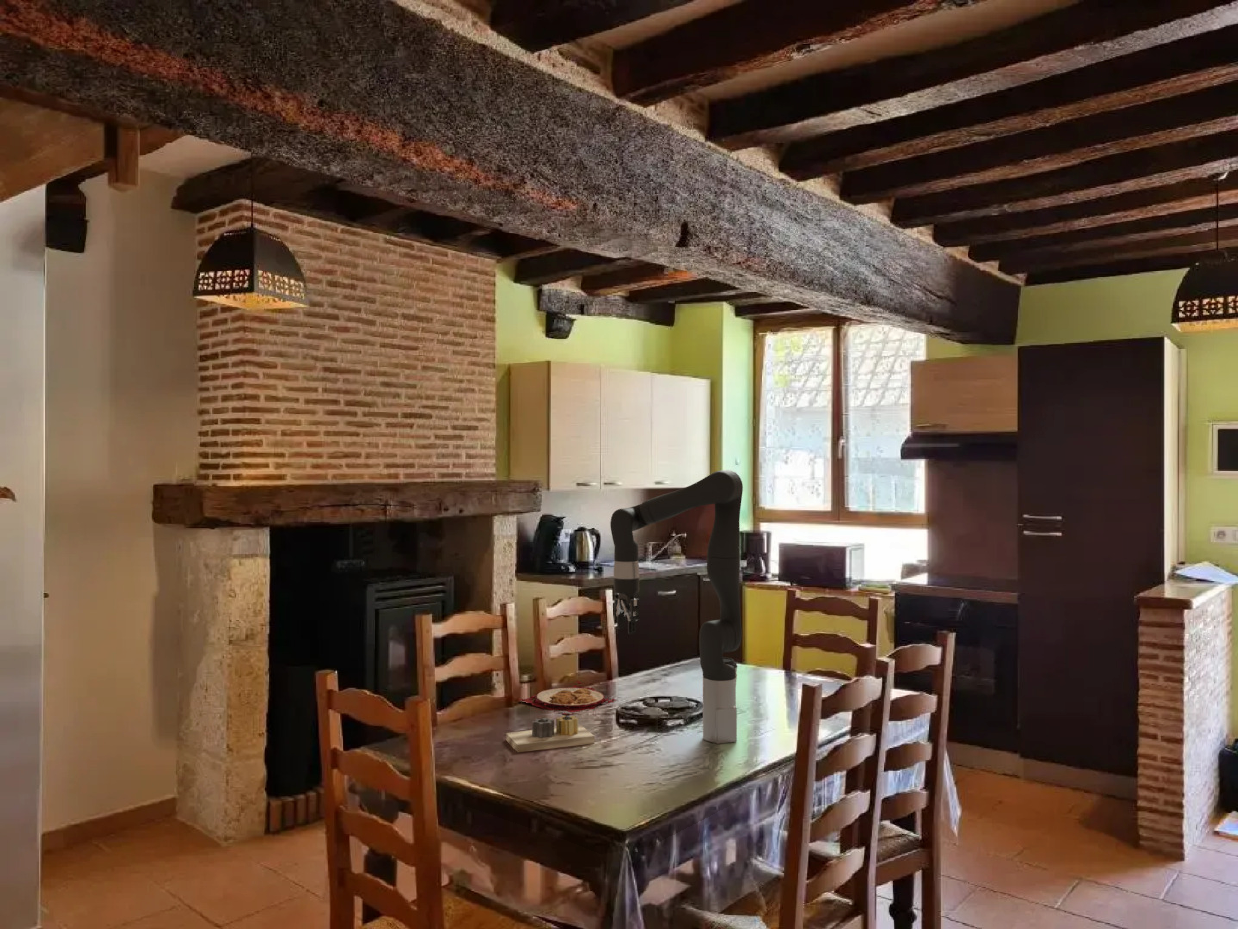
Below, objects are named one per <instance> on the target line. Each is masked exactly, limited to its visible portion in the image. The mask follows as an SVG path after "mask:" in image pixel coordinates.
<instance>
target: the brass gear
mask: <svg viewBox="0 0 1238 929" xmlns="http://www.w3.org/2000/svg"><path fill="white" fill-rule="evenodd" d="M565 716H566V715H562V716H560V717H556V718H555V719H556V724H555V725H556V726H555V728H556V733H559V735H569V736H572V734H574V733H576V734H578V725H579V718H578V717H576V716H575V715H569V716H570V720H565Z"/></svg>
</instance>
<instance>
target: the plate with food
mask: <svg viewBox="0 0 1238 929" xmlns="http://www.w3.org/2000/svg"><path fill="white" fill-rule="evenodd" d="M576 682H577V684H575V685H573V686H567V687H566V686H565V687H557V688H548V689H544V690H541V691H539V692H538V693H536V694H535V695H531V696H530V697H527V698H519V701H521V702H525V703H527V704H530V705H531V706H535V707H538V708H541V709H542V710H543V709H547V710H548V711H553V712H554V713H556V711H566V712H568V713H565V712H563V713H562V714H563V715H565V716H568V715H569V716H573V715H575V713H577V712H582V711H584V710H585V711H586V710H594V709H595V708H596V709H597V708H599V707H597V706H599V705H603V703H604V702H605V705H608V706H609V705H610V703H615V702H616V701H617V699H615V698H611V699H609V697H608V698H607V697H606V696H605V695H604V693H602V692H600V691H597V690H596V689H595V688H593V686H592V687H589V686H588V687H587V686H586V687H585V686H579V685H582V683H583V682H580V681H579V680H576ZM578 684H579V685H578ZM577 685H578V686H577ZM605 697H606V698H605ZM533 700H534V701H533ZM606 702H607V703H606Z"/></svg>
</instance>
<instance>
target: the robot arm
mask: <svg viewBox="0 0 1238 929" xmlns="http://www.w3.org/2000/svg"><path fill="white" fill-rule="evenodd" d="M743 488H744V487H743V481H742V478H741V476H740V475H739V474H738V473H737V472H736V471H733V470H729V469H726V470H725V469H724V470H723V469H722V470H717V471H713V472H712V473H711V474H708V475H707V476H705V477H704V478H702V479H700V480H698V481H696V482H695V483H692V484H691V485H689V486H686V487H683V488H680V489H677V490H675V491H670V492H667V493H664V494H661V495H658V496H656V497H653V498H649V499H647V500H645V501H643V502H642V503H640V504H638V505H634V506H630V507H625V508H619V509H616V510H615V511H614V512H613V513H612V515H611V516H610V522H609V523H610V524H609V525H610V526H609V527H610V532H611V536H612V541H613V546H614V550H613V551H614V559H613V560H614V563H613V593H614V596H613V597H614V598H613V613H614V614H615V615H616V617H617V621H616V622H617V625H616V628H617V629H618V630H625V629H626V617H627V633H628V635H636V634H637V621H639V620H640V616H641V614H640V599H639V598H635V594H637V593H639V592H640V565H639V545H638V542H637V541H635V540H634V535H633V534H634V533H633V532H634V531H638V530H640V529H642V528H643V529H644V528H645V527H647V526H649V525H651V524H656V523H660V522H662V521H667V520H668V519H671V518H673V517H676V516H678V515H680V514H682V513H684V512H686V511H689V510H691V509H696V508H698V507H703V506H708V505H714V520H713V526H712V529H711V533H710V537H709V540H708V543H707V544H708V545H707V549H706V550H707V552H706V553H707V554H706V573H707V576H708V579H709V581H710V583H711V585H712V587H713V588H712V589H714V592H715V593H716V595H717V597H718V599H719V600H718V601H719V607H720V608H719V610H720V613H719V614H720V615H719V616H720V617H719V619H715V620H714V619H713V620H708V621H705V622H704V623H702V625H701V627H700V629H699V634H698V644H699V645H698V646H699V647H698V648H699V661H700V667H701V672H702V739H703V740H704V741H707V742H710V743H713V744H717V745H720V744H726V743H735V742H738V741H737V740H738V738H737V730H738V728H737V726H738V724H737V723H738V722H737V720H738V719H737V718H738V716H737V712H738V711H737V701H736V700H737V696H736V694H737V692H736V691H737V690H736V689H737V679H736V674H737V672H736V670H735V668H734V667H733V666H731V665H728V664H725V663H724V661H723V657H724V655H723V654H724V653H730V652H735V651H737V650H738V649H739V647H740V646H741V643H742V637H743V634H742V633H743V630H742V628H743V627H742V617H741V602H740V574H741V573H740V572H741V571H740V570H741V545H740V544H741V532H740V531H741V530H740V528H741V527H740V516H741V508H742V498H743V491H744V489H743Z"/></svg>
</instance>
